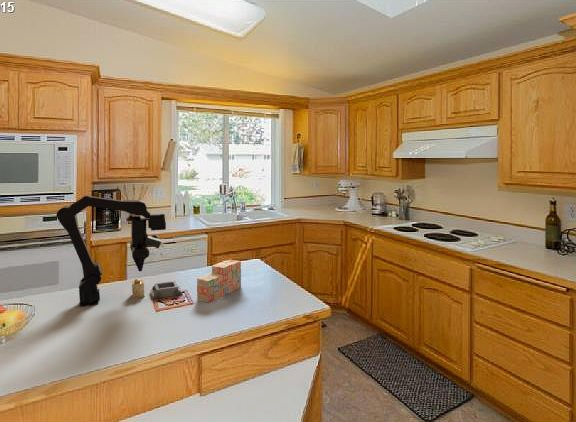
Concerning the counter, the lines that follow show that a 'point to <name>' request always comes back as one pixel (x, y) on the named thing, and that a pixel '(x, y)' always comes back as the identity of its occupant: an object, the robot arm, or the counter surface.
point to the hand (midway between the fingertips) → (139, 268)
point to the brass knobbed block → (138, 288)
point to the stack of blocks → (219, 281)
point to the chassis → (165, 290)
